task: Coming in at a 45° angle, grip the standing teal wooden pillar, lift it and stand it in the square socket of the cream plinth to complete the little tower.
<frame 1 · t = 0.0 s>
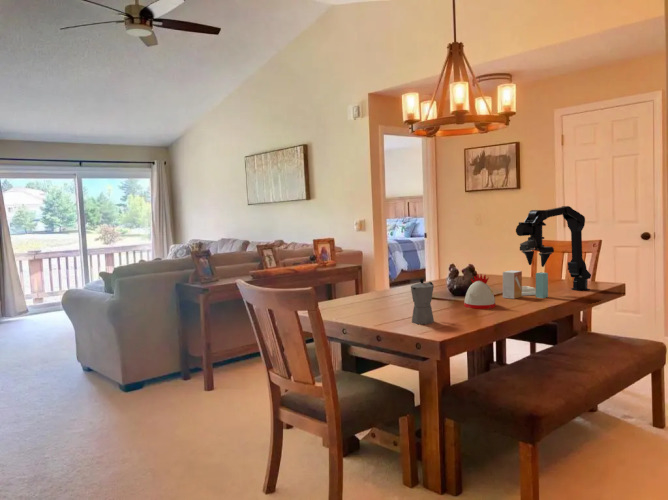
hand: (536, 265, 263), 15 cm above the table, tool pointing down, fingers open, 9 cm apart
pillar: (541, 297, 257), on the table
coffeepot: (424, 321, 215), on the table
small box: (512, 297, 260), on the table
plinth: (524, 293, 269), on the table
kitchen timer: (479, 306, 242), on the table
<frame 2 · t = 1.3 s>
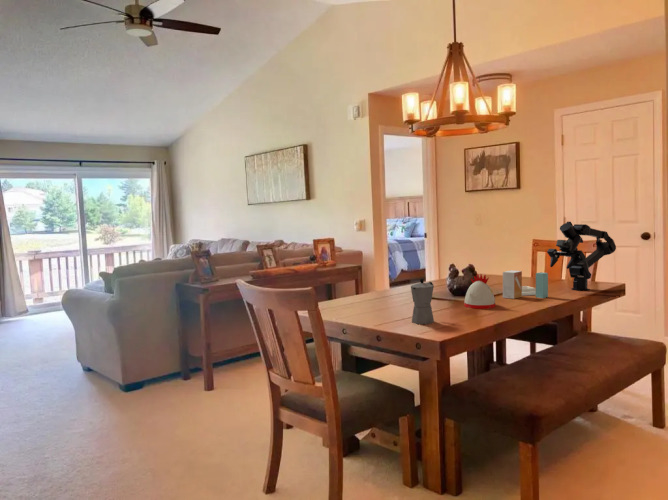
hand: (558, 267, 263), 13 cm above the table, tool tilted 45°, fingers open, 9 cm apart
nothing on the table moved.
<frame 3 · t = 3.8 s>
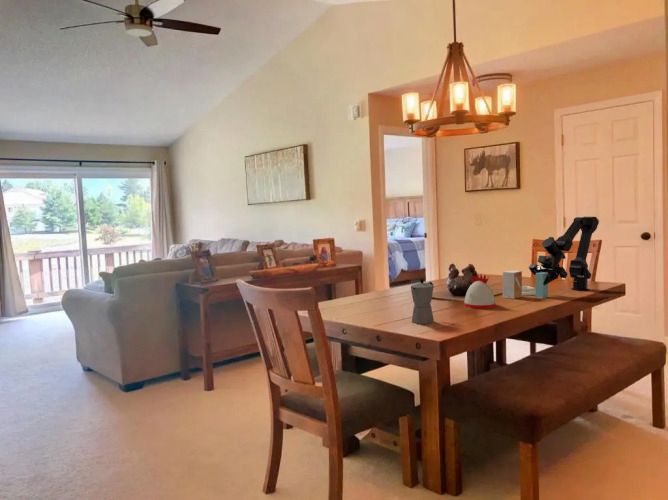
hand: (540, 284, 256), 7 cm above the table, tool tilted 45°, fingers closed on pillar, 4 cm apart
pillar: (541, 297, 257), on the table, touching gripper
everything else where it was.
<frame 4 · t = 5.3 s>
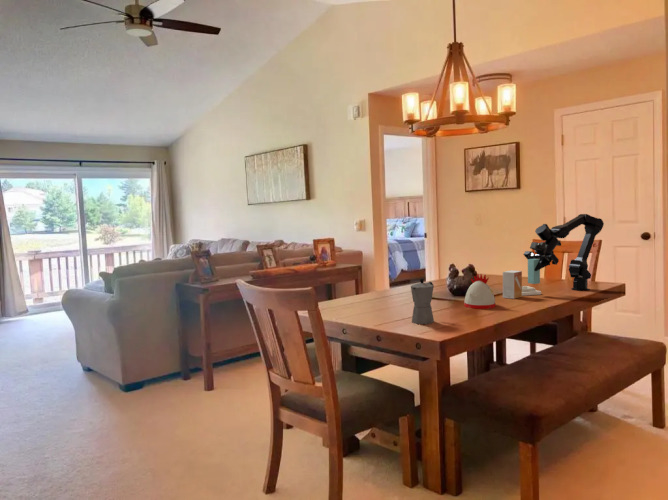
hand: (531, 270, 260), 13 cm above the table, tool tilted 45°, fingers closed on pillar, 4 cm apart
pillar: (533, 283, 261), point 6 cm above the table, touching gripper
everything else where it was.
when the fingers open (9 cm above the table, at t = 7.0 s): pillar drops 1 cm, resting on plinth.
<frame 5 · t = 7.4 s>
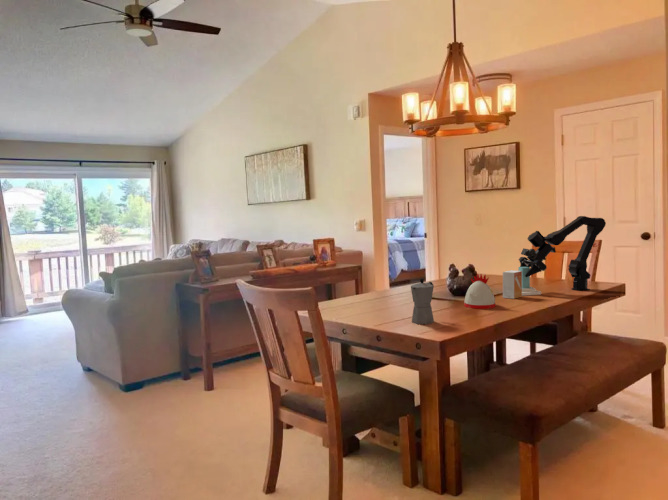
hand: (521, 275, 268), 9 cm above the table, tool tilted 45°, fingers open, 8 cm apart
pillar: (524, 290, 269), point 1 cm above the table, touching plinth
everything else where it was.
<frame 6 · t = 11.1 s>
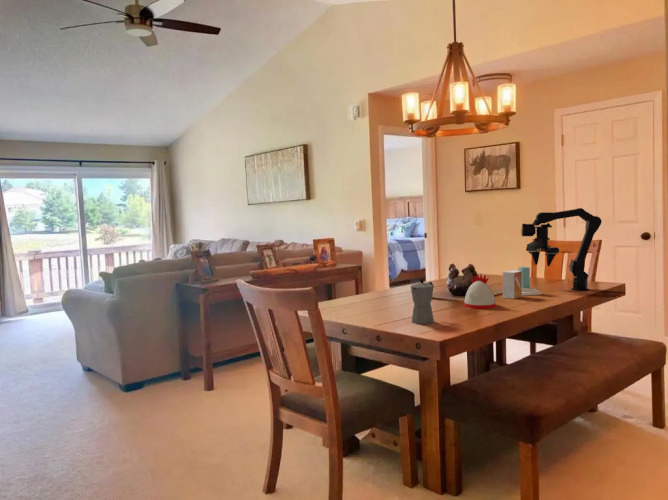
hand: (542, 265, 277), 13 cm above the table, tool pointing down, fingers open, 9 cm apart
nothing on the table moved.
at the end: pillar 0.0 cm off-centre on the plinth, point 1.5 cm above the plinth's base; pillar tilted 0°; the gripper is holding nothing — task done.
